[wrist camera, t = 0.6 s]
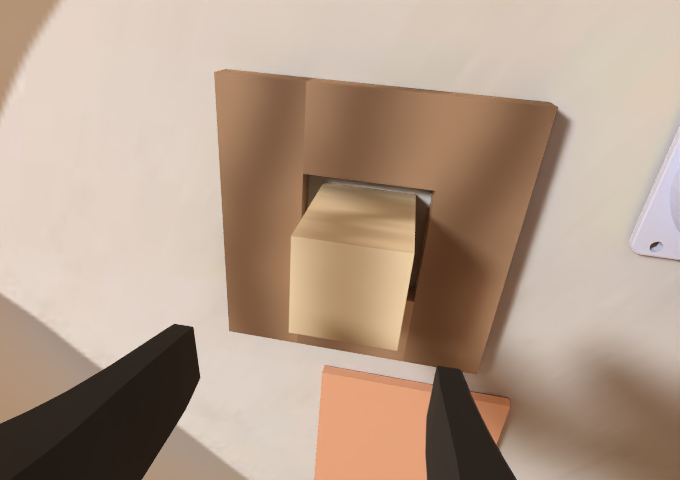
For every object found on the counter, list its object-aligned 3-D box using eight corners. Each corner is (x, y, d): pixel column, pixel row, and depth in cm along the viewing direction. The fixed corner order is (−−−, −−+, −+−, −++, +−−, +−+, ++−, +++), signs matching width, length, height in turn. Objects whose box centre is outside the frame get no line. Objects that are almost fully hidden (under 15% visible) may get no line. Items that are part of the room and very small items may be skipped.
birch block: (415, 194, 20) (414, 254, 15) (402, 274, 22) (397, 351, 17) (323, 182, 21) (291, 235, 16) (318, 261, 23) (288, 332, 18)
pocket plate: (549, 102, 18) (558, 107, 16) (474, 358, 24) (477, 374, 23) (225, 69, 19) (214, 71, 18) (237, 318, 26) (229, 331, 25)
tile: (508, 398, 25) (510, 406, 24) (468, 509, 30) (469, 518, 29) (324, 365, 26) (322, 372, 26) (315, 477, 31) (314, 485, 31)
